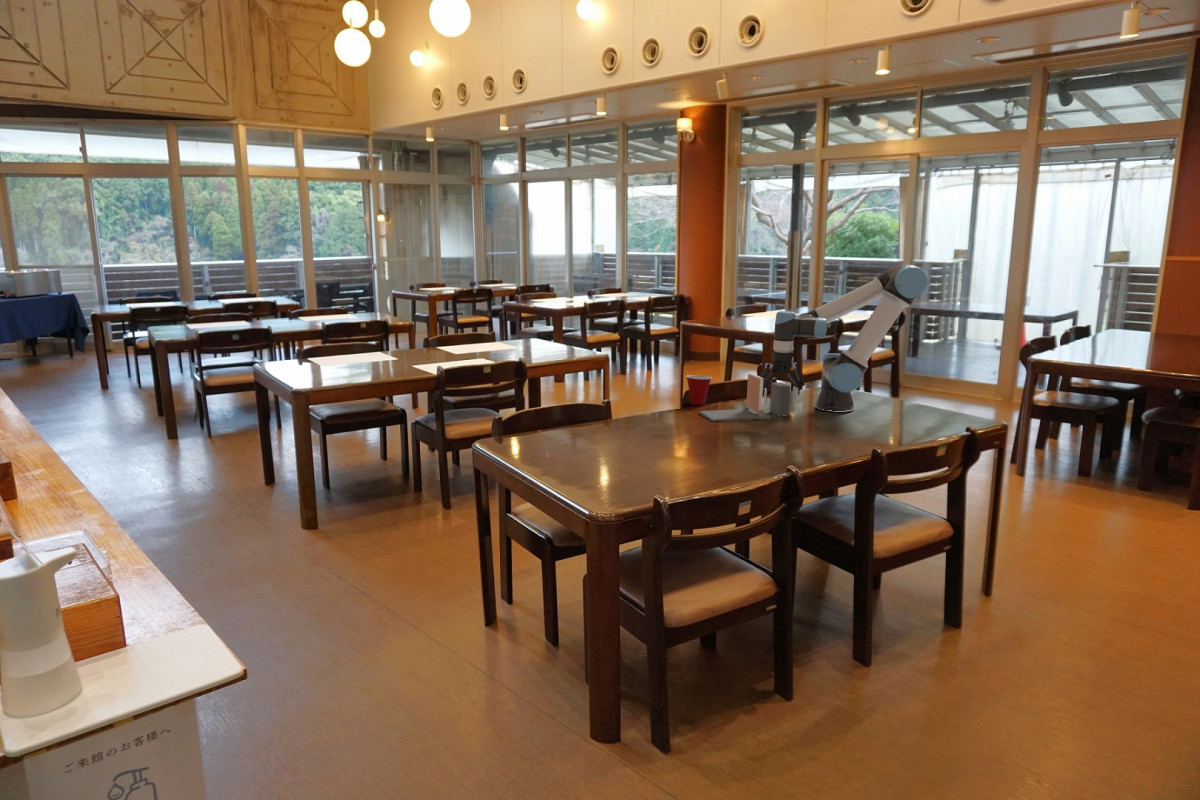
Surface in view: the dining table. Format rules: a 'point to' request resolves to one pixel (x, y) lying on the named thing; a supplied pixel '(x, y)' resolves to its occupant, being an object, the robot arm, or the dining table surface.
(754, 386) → the tile
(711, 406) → the dining table surface
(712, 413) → the tile mat
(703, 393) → the plastic cup
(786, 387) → the gray rectangular block
